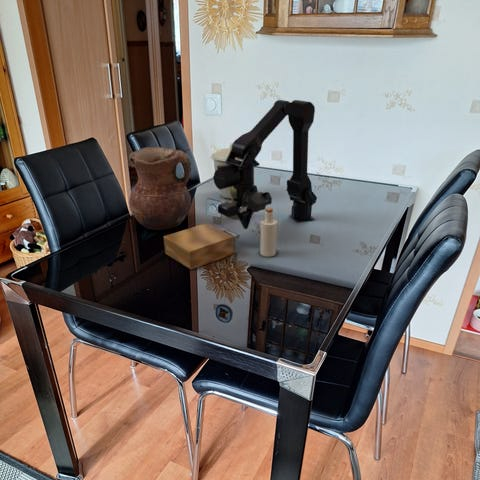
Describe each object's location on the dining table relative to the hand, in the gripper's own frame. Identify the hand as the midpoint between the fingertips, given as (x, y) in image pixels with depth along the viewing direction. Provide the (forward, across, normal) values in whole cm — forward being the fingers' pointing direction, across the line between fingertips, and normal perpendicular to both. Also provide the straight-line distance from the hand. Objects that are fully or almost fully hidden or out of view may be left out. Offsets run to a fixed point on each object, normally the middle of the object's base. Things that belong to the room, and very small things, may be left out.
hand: (245, 228), depth 145 cm
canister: (+4, +25, +37) cm, 44 cm away
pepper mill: (+4, +11, +18) cm, 21 cm away
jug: (+3, -15, +30) cm, 33 cm away
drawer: (+2, -15, 0) cm, 15 cm away
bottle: (+3, -2, -14) cm, 14 cm away
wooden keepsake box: (+3, -19, 0) cm, 19 cm away
